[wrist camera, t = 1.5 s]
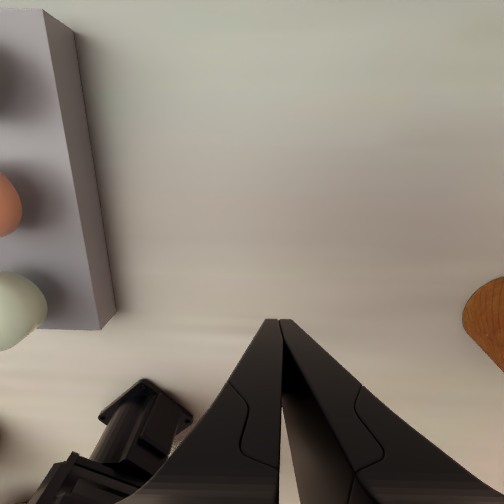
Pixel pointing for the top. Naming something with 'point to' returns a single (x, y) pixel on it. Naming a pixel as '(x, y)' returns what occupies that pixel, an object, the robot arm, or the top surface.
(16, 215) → the terracotta button
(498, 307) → the disposable coffee cup
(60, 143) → the button panel
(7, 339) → the sage button
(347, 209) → the top surface
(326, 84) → the top surface
